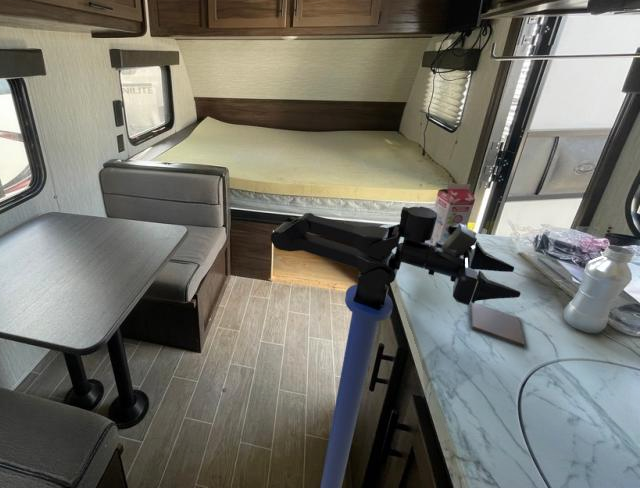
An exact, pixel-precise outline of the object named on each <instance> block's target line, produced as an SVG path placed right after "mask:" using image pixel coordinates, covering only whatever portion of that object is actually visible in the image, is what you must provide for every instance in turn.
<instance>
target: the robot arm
mask: <svg viewBox="0 0 640 488" xmlns="http://www.w3.org/2000/svg"><path fill="white" fill-rule="evenodd" d="M437 216H438V214H437V212H435V211H434V210H433V209H432V208H429V207H426V206H410V207H407V206H403V207H402V208H401V212H400V219H399V223H398V224H395V225H391V226H388V227H384V226H375V225H365V226H357V225H353V224H349V223H346V222H342V221H338V220H334V219H330V218H326V217H322V216H319V215H315V214H314V213H312V212H305V213H304V214H303V215H301V216H300V217H297V218H295V219H294V220H292V221H285V222H283V223H282V224H280V225H279V226H278V227H277V228H276V229H274V231H273V232H271V235H270V241H271V244H272V245H273V247H274V248H275V249H276V250H279V251H284V252H299V251H301V252H305V253H308V254H312V255H313V256H314V255H315V256H317V257H321V258H324V259H326V260H330V261H332V262H336V263H339V264H341V265H345V266H348V267H351V268H353V269H356V270H357V271H358V272H359V274H358V276H357V283H356V284H357V289H356V294H355V296H354V298H353V301H355V302H357V303H360V304H362V305H365V306H368V307H370V308H373V309H376V310H378V311H379V310H380V309H381V306H382V305H384V303H385V300H386V296H387V294H388V292H389V289H390V288H389V286H388V285H390V284H392V283H393V282H394V281H395V280H396V277H397V275H398V271H399V270H400V268H401V265H402V263H403V264H406V265H410V266H414V267H417V268H420V269H423V270H427V271H428V272H427V273H428V274H427V275H429V276H434V275H435V273H437V274H440V275H443V276H446V277H450V279H449V281H450V282H453V285H452V298H453V299H454V301H456V303H458V304H462V305H465V306H470V305H471V303H476V302H478V301H479V302H480V301H487V300H498V299H515V298H516V299H517V298H520V297H521V291H519V290H517V289H515V288H513V287H510V286H508V285H505V284H502V283H499V282H497V281H494V280H491V279H489V278H487V276H485V274H484V273H483V272H482V271H492V272H503V273H513V272H514V271H515V266H513V265H511V264H510V263H508V262H505V261H504V260H502V259H500V258H498V257H496V256H494V255H492V254H490V253H489V252H487V251H485V250H484V249H483V247H482V246H481V244H480V242H479V241H478V239H477V232H475V231H473V230H472V229H470V228H469V226H468V224H467V225H466V224H464V225H462V224H453V223H451V224H450V225H449V227H448V229H447V231H448V233H449V234H450V236H448V239H447V240H446V241H445V242H440V241H438V242H436V243H435V245H433V244H430V245H429V243H425V241H428V240H430V239H431V238H432V235H433V231H434V227H435V224H436V220H437ZM401 238H403V241H402V242H400V240H401ZM394 249H395V252H394Z"/></svg>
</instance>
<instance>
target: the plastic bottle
mask: <svg viewBox="0 0 640 488" xmlns="http://www.w3.org/2000/svg"><path fill="white" fill-rule="evenodd" d="M634 254H635V253H634V252H633V251H632V250H629V249H628V248H625V247H622V246H619V245H613V244H609V245H607V246H606V247H605V249H604V250H603V251H602V254H601V255H602V256H598V257H596V258H594V259H591V260H590V261H588V262H587V263H586V264H585V267H584V271H583V275H582V280H581V282H580V285H579V287H578V290H577V292H576V293H575V294H574V296H573V297H572V300H571V301H569V302H568V303H567V305H566V306H565V307H564V308H563V309H564V310H563V315H562V316H563V318H564V320H565V322H566V323H567V324H569V325H570V326H571V327H573V328H575V329H576V330H578V331H581V332H584V333H588V334H598V333H602V331H604V329H606V327H607V326H608V322H609V317H610V313H611V311H612V308H613V305H614V303H616V300H617V299H618V297H619V296H620V295H621V293H622V292H623V291H624V290H625V288H626V287H627V286H628V285H629V284H630V283H631V282H632V280H633V274H632V271H631V268H630V267H629V263H631V261H632V258H633V257H634Z"/></svg>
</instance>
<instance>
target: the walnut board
mask: <svg viewBox="0 0 640 488" xmlns="http://www.w3.org/2000/svg"><path fill="white" fill-rule="evenodd" d="M470 313H471V314H470V316H471V317H470V318H471V329H472V330H474V331H477V332H479V333H482V334H485V335H488V336H490V337H493V338H496V339H498V340H502V341H505V342H508V343H510V344H513V345H516V346H517V347H521V348H525V346H526V343H525V338H524V334H523V329H522V324H521V320H520V317H519V316H515V315H512V314H510V313H507V312H503V311H501V310H497V309H494V308H491V307H487V306H485V305H481V304H478V303H476V302H475V303H471V302H470Z"/></svg>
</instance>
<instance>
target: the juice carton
mask: <svg viewBox="0 0 640 488" xmlns="http://www.w3.org/2000/svg"><path fill="white" fill-rule="evenodd" d="M471 186H472V185H471V183H446V186H445V188H441V189H438V191H437V194H436V198H435V202H434V205H433V209H432V210H434V211H435V212H437V214H438V216H437V220H436V224H435V227H434V231H433V235H432V238H431V239H430V240H428V241H425V243H429V245H430V244H433V245H435V243H436V242H438V241H440V242H445V241H446V240H447V239H448V236H450V234H449V233H448V231H447V229H448V227H449V225H450V224H451V223H453V224H462V225H464V224H466V225H467V226H468V224H469V221H470V218H471V214H472V212H473V208H474V204H475V202H476V198H475V196H474V195H473V193H472V192H471Z"/></svg>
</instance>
